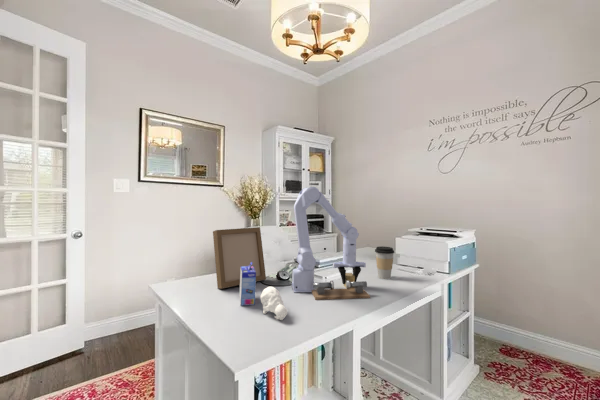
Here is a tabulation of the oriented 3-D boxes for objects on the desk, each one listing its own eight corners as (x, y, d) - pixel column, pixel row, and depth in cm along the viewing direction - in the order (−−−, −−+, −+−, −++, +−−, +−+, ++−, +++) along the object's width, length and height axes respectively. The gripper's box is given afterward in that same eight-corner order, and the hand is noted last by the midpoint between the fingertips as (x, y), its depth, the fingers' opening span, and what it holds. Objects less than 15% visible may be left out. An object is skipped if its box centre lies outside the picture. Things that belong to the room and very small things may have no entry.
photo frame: (266, 281, 129) (266, 228, 129) (221, 290, 115) (221, 231, 115) (250, 274, 140) (250, 225, 140) (208, 282, 126) (208, 228, 126)
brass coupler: (354, 288, 121) (354, 275, 121) (346, 288, 120) (346, 276, 120) (351, 284, 125) (351, 272, 125) (343, 285, 125) (343, 273, 125)
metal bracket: (284, 261, 146) (307, 265, 137) (286, 271, 148) (309, 276, 139) (266, 274, 135) (290, 280, 126) (268, 285, 136) (292, 291, 128)
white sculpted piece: (275, 283, 98) (293, 296, 88) (274, 306, 99) (292, 322, 89) (259, 286, 94) (276, 300, 85) (258, 310, 95) (275, 327, 85)
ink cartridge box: (256, 305, 100) (256, 265, 100) (240, 306, 99) (241, 266, 99) (253, 295, 110) (253, 259, 110) (239, 297, 108) (239, 260, 108)
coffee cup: (396, 277, 139) (396, 247, 139) (391, 281, 131) (391, 250, 131) (377, 274, 144) (377, 245, 144) (371, 278, 136) (372, 248, 136)
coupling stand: (315, 299, 106) (315, 284, 106) (311, 292, 115) (311, 278, 115) (370, 297, 109) (370, 283, 109) (361, 290, 118) (362, 276, 118)
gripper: (336, 255, 118) (335, 286, 118) (368, 254, 120) (367, 285, 120) (331, 251, 125) (331, 281, 125) (362, 251, 127) (362, 280, 127)
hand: (349, 283), depth 123 cm, fingers open, 4 cm apart
